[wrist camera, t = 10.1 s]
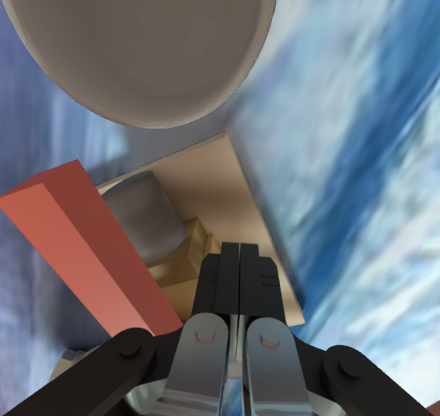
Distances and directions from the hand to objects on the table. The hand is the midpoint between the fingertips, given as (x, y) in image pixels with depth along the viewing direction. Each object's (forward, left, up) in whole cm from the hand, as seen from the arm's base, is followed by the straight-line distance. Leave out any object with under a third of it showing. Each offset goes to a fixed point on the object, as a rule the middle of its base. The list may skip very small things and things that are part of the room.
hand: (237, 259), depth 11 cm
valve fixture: (-8, +7, -11) cm, 16 cm away
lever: (-2, +7, -2) cm, 8 cm away
